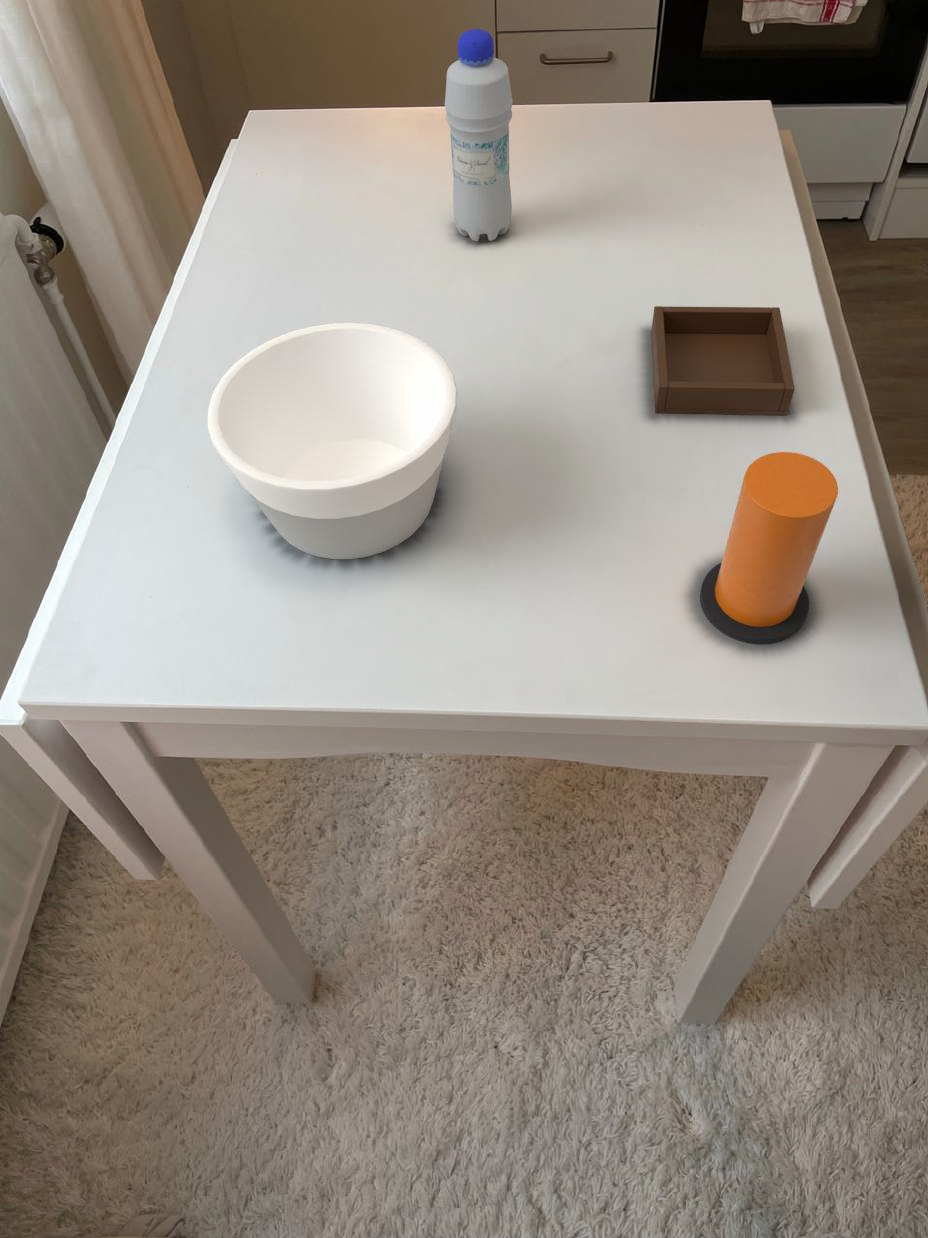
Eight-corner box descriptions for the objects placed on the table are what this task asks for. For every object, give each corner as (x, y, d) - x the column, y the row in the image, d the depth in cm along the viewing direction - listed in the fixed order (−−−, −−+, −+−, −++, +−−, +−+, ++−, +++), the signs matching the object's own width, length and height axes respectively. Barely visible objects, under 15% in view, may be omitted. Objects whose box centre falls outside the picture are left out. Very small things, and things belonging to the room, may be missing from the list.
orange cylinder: (804, 578, 73) (847, 465, 63) (784, 637, 70) (826, 527, 60) (727, 555, 75) (757, 442, 65) (705, 612, 72) (733, 501, 62)
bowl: (298, 403, 89) (274, 304, 80) (494, 444, 84) (490, 343, 76) (198, 553, 78) (159, 458, 70) (416, 609, 74) (402, 514, 65)
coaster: (817, 579, 74) (819, 574, 73) (793, 658, 70) (795, 653, 69) (716, 549, 76) (717, 544, 76) (686, 624, 72) (687, 619, 71)
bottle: (443, 241, 104) (428, 42, 88) (466, 208, 107) (456, 12, 91) (501, 252, 102) (497, 51, 86) (522, 218, 106) (522, 20, 89)
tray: (773, 333, 92) (779, 306, 89) (787, 415, 85) (794, 388, 82) (650, 332, 93) (654, 305, 90) (655, 412, 86) (659, 386, 83)
